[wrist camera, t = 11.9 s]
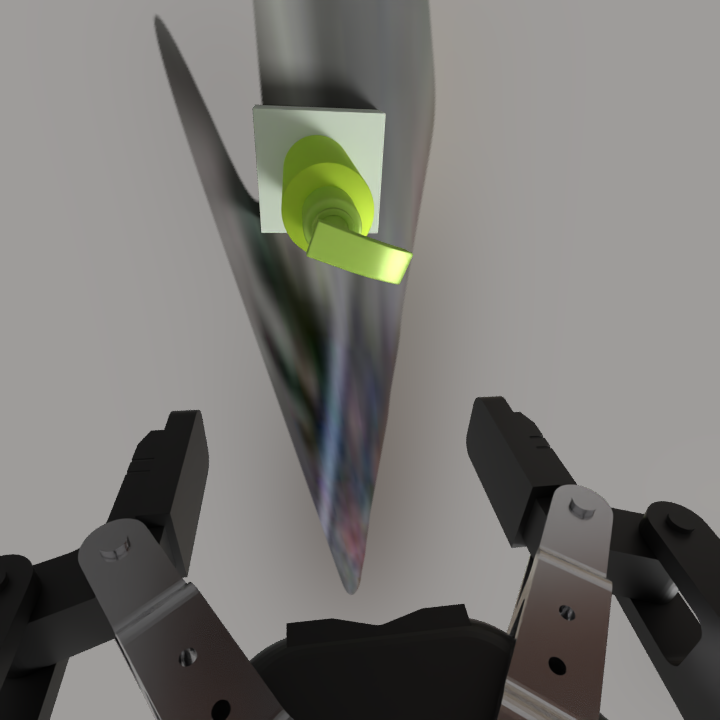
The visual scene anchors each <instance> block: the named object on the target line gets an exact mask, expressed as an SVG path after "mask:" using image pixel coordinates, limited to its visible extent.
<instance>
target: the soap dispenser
mask: <svg viewBox="0 0 720 720" xmlns="http://www.w3.org/2000/svg"><path fill="white" fill-rule="evenodd" d="M281 214H282V220H283V224H284V227H285V229H286V231H287V233H288V235H289V236H290V238H291V239H292V240H293V242H294V243H295V244H296V245H298V246H299V247H300V248H301V249H303V250H304V251H306V254H307V256H308V257H311V258H313V259H316V260H319V261H322V262H324V263H327V264H330V265H333V266H335V267H338V268H341V269H344V270H347V271H350V272H353V273H356V274H359V275H362V276H365V277H369V278H372V279H376V280H380V281H384V282H389V283H393V284H400V282H401V280H402V278H403V276H404V274H405V271H406V269H407V267H408V265H409V263H410V261H411V258H412V256H413V254H412V253H411V252H409V251H407V250H405V249H403V248H400V247H396V246H393V245H390V244H387V243H384V242H381V241H378V240H375V239H372V238H370V237H367V234H368V233H369V231H370V229H371V226H372V223H373V219H374V201H373V197H372V194H371V191H370V189H369V187H368V185H367V183H366V182H365V180H364V179H363V177H362V176H361V174H360V173H359V171H358V170H357V168H356V167H355V165H354V164H353V162H352V161H351V159H350V158H349V156H348V155H347V153H346V152H345V150H344V149H343V148H342V147H341V145H340V144H338V143H337V142H336V141H334V140H333V139H331V138H329V137H326V136H322V135H311V136H307V137H304V138H302V139H300V140H298V141H297V142H296V143H295V144H294V145H293V146H292V147H291V148H290V149H289V151H288V153H287V155H286V157H285V160H284V166H283V184H282V203H281Z"/></svg>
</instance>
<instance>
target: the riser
mask: <svg viewBox="0 0 720 720" xmlns="http://www.w3.org/2000/svg"><path fill="white" fill-rule="evenodd" d="M253 120H254V133H255V147H256V162H257V176H258V190H259V204H260V218H261V232H262V233H287V231H286V229H285V227H284V224H283V220H282V214H281V203H282V184H283V166H284V160H285V157H286V155H287V153H288V151H289V149H290V148H291V147H292V146H293V145H294V144H295V143H296V142H297V141H298V140H300V139H302V138H304V137H307V136H311V135H322V136H326V137H329V138H331V139H333V140H334V141H336V142H337V143H338V144H340V145H341V147H342V148H343V149H344V150H345V152H346V153H347V155H348V156H349V158H350V159H351V161H352V162H353V164H354V165H355V167H356V168H357V170H358V171H359V173H360V174H361V176H362V177H363V179H364V180H365V182H366V183H367V185H368V187H369V189H370V191H371V194H372V197H373V201H374V219H373V223H372V226H371V229H370V231H369V233H378V222H379V207H380V191H381V176H382V160H383V145H384V129H385V113H383V112H381V111H379V110H372V109H347V108H322V107H297V106H272V105H255V106H254V107H253Z"/></svg>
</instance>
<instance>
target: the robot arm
mask: <svg viewBox="0 0 720 720" xmlns="http://www.w3.org/2000/svg"><path fill="white" fill-rule="evenodd" d="M466 438H467V439H466V444H467V451H468V455H469V457H470V459H471V462H472V464H473V466H474V468H475V470H476V472H477V474H478V477H479V479H480V481H481V483H482V485H483V488H484V489H485V492H486V494H487V496H488V498H489V500H490V503H491V505H492V507H493V509H494V511H495V513H496V515H497V518H498V520H499V522H500V524H501V526H502V528H503V530H504V533H505V535H506V537H507V539H508V541H509V543H510V545H511V547H512V548H515V547H526V546H527V548H528V550H529V552H530V557H529V560H528V563H527V566H526V569H525V573H524V576H523V580H522V583H521V587H520V590H519V594H518V597H517V601H516V604H515V608H514V611H513V615H512V618H511V621H510V624H509V627H508V630H507V633H505V632H504V631H502V630H500V629H498V628H496V627H495V626H492V625H490V624H487V623H485V622H482V621H478V620H475V619H470V618H469V617H468V615H467V611H466V608H465V605H464V604H458V605H449V606H440V607H432V608H423V609H420V610H417V611H415V612H412V613H410V614H408V615H405V616H403V617H400V618H398V619H395V620H393V621H390V622H388V623H386V624H383V625H371V624H365V623H358V622H352V621H345V620H339V619H323V620H313V621H304V622H295V623H287V638H285V639H283V640H280V641H278V642H276V643H274V644H272V645H270V646H269V647H267V648H265V649H264V650H263V651H261V652H260V653H258V654H257V655H256V656H255V657H254V658H252V659H251V660H250V661H249V660H248V658H247V657H246V656H245V654H244V653H243V652H242V650H241V649H240V647H239V646H238V645H237V643H236V642H235V641H234V639H233V638H232V636H231V635H230V633H229V632H228V631H227V629H226V628H225V626H224V625H223V624H222V622H221V621H220V619H219V618H218V617H217V615H216V614H215V612H214V611H213V610H212V608H211V607H210V605H209V604H208V603H207V601H206V600H205V598H204V597H203V596H202V594H201V593H200V591H199V590H198V589H197V587H195V585H194V584H193V583H191V582H189V583H188V584H187V583H186V582H185V581H184V580H183V577H187V575H188V571H189V566H190V560H191V555H192V550H193V545H194V540H195V535H196V530H197V525H198V520H199V515H200V510H201V505H202V500H203V495H204V490H205V485H206V480H207V475H208V468H209V455H208V447H207V441H206V436H205V431H204V425H203V419H202V414H201V411H200V410H189V411H188V410H186V411H172V412H171V413H170V415H169V418H168V421H167V424H166V426H165V430H155V431H150V433H148V435H147V436H146V437H145V438H144V439H143V440H142V441H141V442H140V443H139V444H138V445H137V448H136V450H135V453H134V455H133V458H132V462H131V463H130V465H129V468H128V470H127V475H125V478H124V481H123V483H122V485H121V488H120V490H119V493H118V496H117V498H116V501H115V503H114V506H113V508H112V510H111V513H110V516H109V518H108V520H107V522H106V524H104V525H102V526H100V527H99V528H97V529H96V530H94V531H93V532H92V533H91V534H90V535H89V536H88V537H87V538H86V539H85V540H84V542H83V544H82V545H81V547H80V548H79V549H78V550H75V551H73V552H71V553H68V554H65V555H62V556H59V557H57V558H54V559H51V560H48V561H45V562H42V563H39V564H36V565H32V564H31V562H30V561H29V560H28V559H27V558H26V557H24V556H21V555H14V554H12V555H3V556H0V720H50V717H51V714H52V711H53V707H54V704H55V701H56V698H57V695H58V692H59V688H60V685H61V682H62V679H63V676H64V672H65V669H66V666H67V663H68V660H69V657H71V656H74V655H76V654H78V653H81V652H83V651H85V650H88V649H91V648H93V647H95V646H98V645H100V644H102V643H105V642H107V641H109V640H112V639H115V641H116V643H117V645H118V647H119V649H120V651H121V653H122V655H123V657H124V658H125V661H126V663H127V664H128V666H129V668H130V670H131V672H132V674H133V676H134V678H135V680H136V682H137V684H138V686H139V688H140V690H141V692H142V693H143V696H144V698H145V699H146V701H147V703H148V705H149V707H150V709H151V712H152V714H153V716H154V718H155V720H608V719H607V718H605V717H604V716H603V715H602V714H601V713H600V702H601V694H602V684H603V674H604V665H605V655H606V646H607V636H608V626H609V617H610V607H611V606H610V605H611V597H612V594H613V595H615V596H616V598H617V600H618V601H619V604H620V605H621V607H622V609H623V611H624V613H625V614H626V616H627V618H628V620H629V622H630V623H631V625H632V627H633V629H634V630H635V632H636V634H637V636H638V638H639V639H640V641H641V643H642V645H643V647H644V648H645V650H646V652H647V654H648V656H649V657H650V659H651V661H652V663H653V664H654V666H655V668H656V670H657V672H658V673H659V675H660V677H661V679H662V681H663V682H664V684H665V686H666V688H667V690H668V691H669V693H670V695H671V697H672V698H673V700H674V702H675V704H676V705H677V707H678V709H679V711H680V713H681V715H682V717H683V718H684V720H720V539H719V538H718V537H717V535H715V533H714V532H713V531H712V529H711V528H710V527H709V526H708V525H707V524H706V523H705V522H704V521H703V519H702V518H700V517H699V516H698V515H697V514H695V513H694V512H692V511H691V510H689V509H687V508H685V507H683V506H681V505H678V504H675V503H672V502H665V501H660V502H655V503H652V504H651V505H650V506H649V507H648V509H647V511H646V512H645V514H641V513H635V512H630V511H625V510H620V509H615V508H611V507H610V506H609V504H608V503H607V502H606V501H605V499H604V498H603V497H601V496H600V495H599V494H597V493H596V492H594V491H592V490H591V489H588V488H586V487H583V486H579V485H577V484H576V482H575V481H574V479H573V478H572V477H571V475H570V474H569V472H568V471H567V469H566V468H565V467H564V465H563V464H562V462H561V461H560V460H559V458H558V456H557V455H556V454H555V452H554V451H553V449H552V448H550V445H549V444H548V442H547V441H546V439H545V438H543V435H542V433H541V432H540V430H539V429H538V428H537V426H536V425H535V423H534V422H533V421H531V420H530V419H529V418H527V417H526V416H525V415H523V414H522V413H521V412H513V411H512V410H511V408H510V406H509V405H508V403H507V402H506V400H505V399H504V398H503V397H502V396H498V397H497V396H496V397H478V398H476V399H475V401H474V404H473V409H472V414H471V419H470V423H469V428H468V432H467V437H466ZM678 591H680V592H681V594H682V595H683V596H684V598H685V600H686V601H687V603H688V604H689V605H690V607H691V608H692V610H693V611H694V613H695V614H696V616H697V617H698V620H699V622H700V623H699V622H698V620H697V619H696V618H695V616H694V615H693V613H692V612H691V610H690V609H689V607H688V606H687V604H686V603H685V601H684V600H683V599H682V597H681V596H680V594H679V593H678Z"/></svg>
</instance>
